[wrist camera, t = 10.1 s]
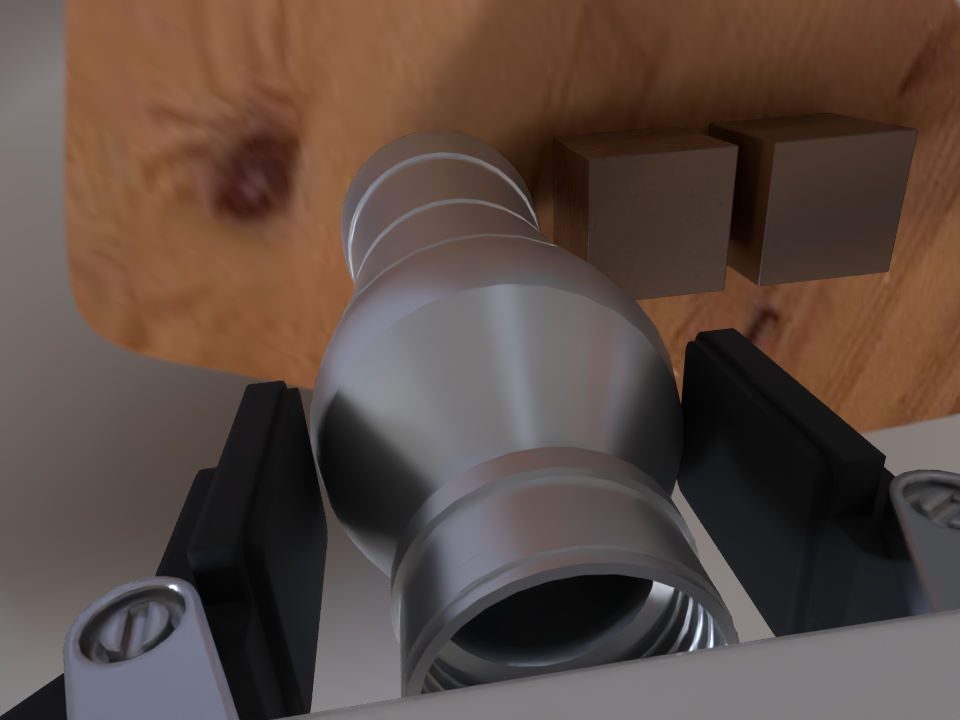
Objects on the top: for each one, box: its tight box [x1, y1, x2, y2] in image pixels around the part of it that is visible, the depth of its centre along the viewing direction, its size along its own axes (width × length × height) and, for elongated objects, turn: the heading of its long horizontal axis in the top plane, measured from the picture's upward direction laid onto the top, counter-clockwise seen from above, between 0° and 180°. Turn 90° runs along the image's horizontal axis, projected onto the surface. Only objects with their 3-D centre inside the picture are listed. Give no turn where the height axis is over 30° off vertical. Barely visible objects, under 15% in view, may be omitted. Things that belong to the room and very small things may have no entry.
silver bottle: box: [310, 130, 739, 698], centre depth 16 cm, size 6×7×20 cm
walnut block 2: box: [709, 113, 918, 286], centre depth 25 cm, size 5×5×5 cm
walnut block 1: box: [553, 126, 738, 300], centre depth 24 cm, size 5×5×5 cm
